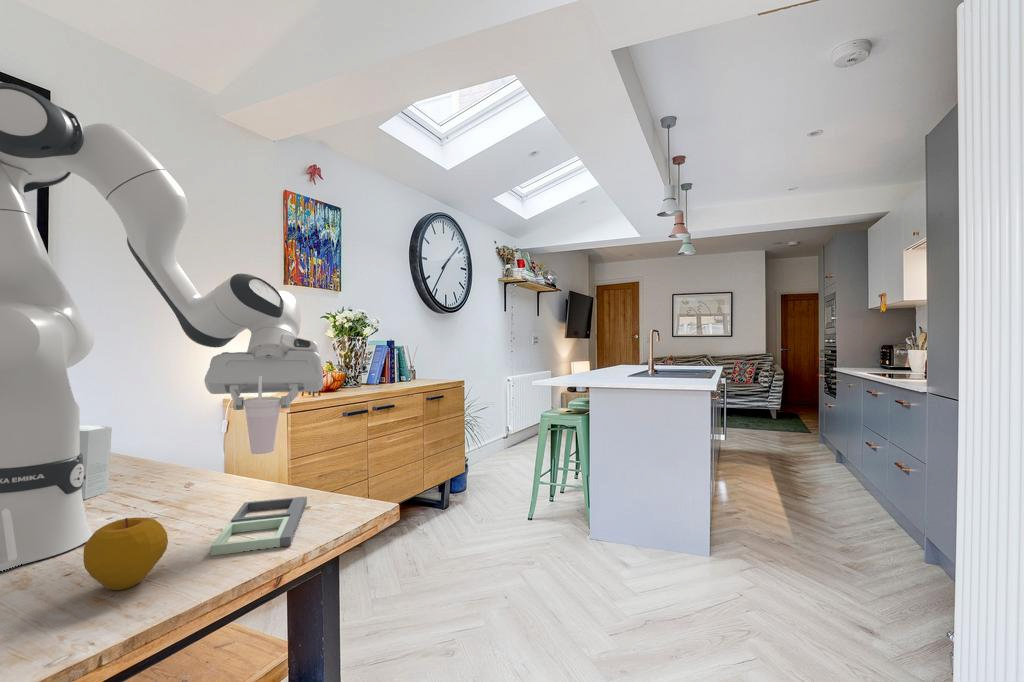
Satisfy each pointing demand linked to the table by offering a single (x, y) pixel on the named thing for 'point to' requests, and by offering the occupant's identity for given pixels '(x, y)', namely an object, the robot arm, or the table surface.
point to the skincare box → (95, 459)
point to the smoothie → (262, 421)
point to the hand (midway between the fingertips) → (261, 407)
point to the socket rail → (261, 526)
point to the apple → (124, 551)
